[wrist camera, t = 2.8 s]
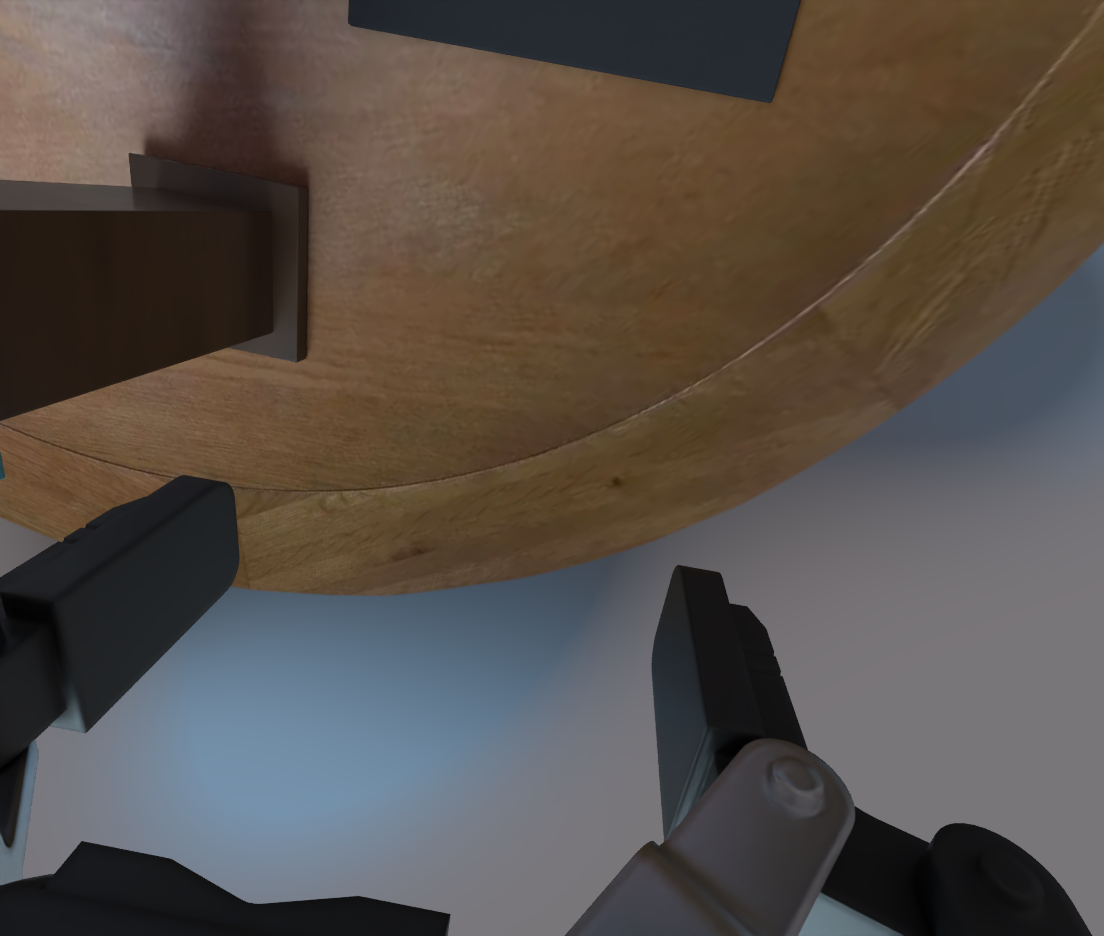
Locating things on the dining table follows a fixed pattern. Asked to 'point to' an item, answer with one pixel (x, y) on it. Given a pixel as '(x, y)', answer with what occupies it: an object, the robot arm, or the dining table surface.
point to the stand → (145, 277)
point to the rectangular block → (1, 469)
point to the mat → (612, 36)
